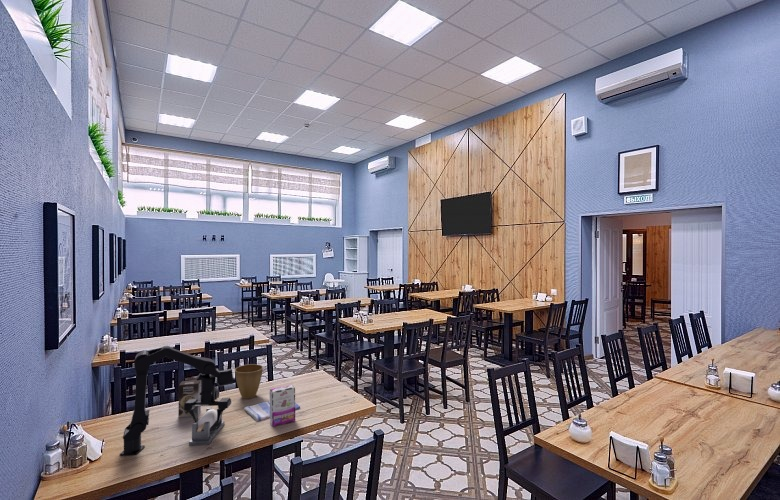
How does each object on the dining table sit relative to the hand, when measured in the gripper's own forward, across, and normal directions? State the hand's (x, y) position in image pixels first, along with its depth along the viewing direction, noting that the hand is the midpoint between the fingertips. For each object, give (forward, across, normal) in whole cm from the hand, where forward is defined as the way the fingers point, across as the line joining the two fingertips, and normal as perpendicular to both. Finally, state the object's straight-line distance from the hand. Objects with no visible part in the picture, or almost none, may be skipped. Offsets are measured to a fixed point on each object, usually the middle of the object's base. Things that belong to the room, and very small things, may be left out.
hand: (207, 422), depth 166 cm
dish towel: (+6, -23, -24) cm, 34 cm away
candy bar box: (+5, -31, -9) cm, 33 cm away
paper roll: (-1, 0, 0) cm, 1 cm away
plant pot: (+5, -6, -43) cm, 44 cm away
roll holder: (+5, 0, 0) cm, 5 cm away
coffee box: (+5, +17, -22) cm, 28 cm away
